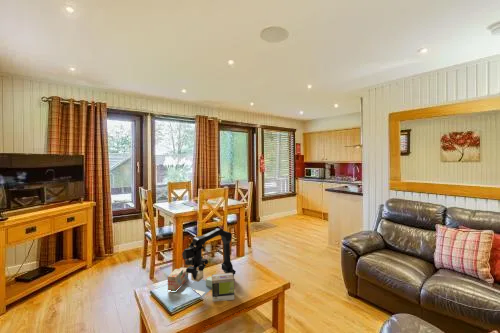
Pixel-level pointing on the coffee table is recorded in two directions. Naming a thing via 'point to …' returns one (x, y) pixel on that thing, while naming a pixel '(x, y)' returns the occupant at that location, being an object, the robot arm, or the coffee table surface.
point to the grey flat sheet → (200, 287)
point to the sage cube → (209, 281)
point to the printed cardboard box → (177, 278)
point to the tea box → (222, 287)
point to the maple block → (198, 276)
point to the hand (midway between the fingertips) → (197, 277)
